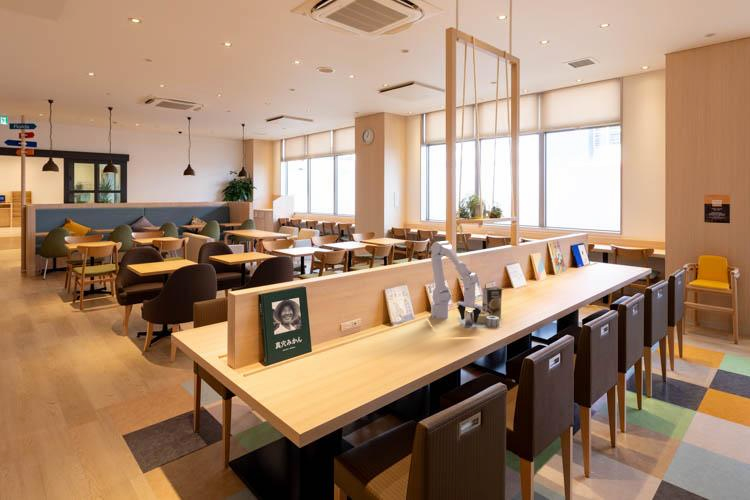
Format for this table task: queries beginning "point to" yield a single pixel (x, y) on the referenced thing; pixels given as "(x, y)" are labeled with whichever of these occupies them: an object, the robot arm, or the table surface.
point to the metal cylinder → (469, 317)
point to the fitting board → (476, 325)
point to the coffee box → (492, 301)
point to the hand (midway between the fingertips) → (469, 320)
